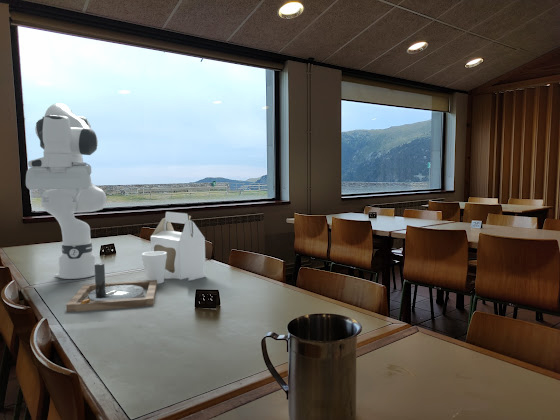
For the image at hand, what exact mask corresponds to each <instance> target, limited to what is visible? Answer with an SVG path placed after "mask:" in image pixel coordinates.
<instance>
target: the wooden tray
mask: <svg viewBox="0 0 560 420" xmlns="http://www.w3.org/2000/svg"><path fill="white" fill-rule="evenodd" d="M116 285H135V286H140V287H142V288H143V289H147V292H146V294H145V297H144V296H143V297H142V298H129V299H115V300H101V301H90V299H88V298H87V297H88V294H89V293H90V292H91V291H94V290H96V287H95V283H91V284H88V283H87V284H83V285H82V286H81V288H80V289H79V290H78V291H76V293H75V295H74V296H73V297H72V298H71V299H70V300H69V301H68V302H67V304H66V305H65V306H66V312H68V313H69V312H71V313H72V312H74V313H75V312H76V313H77V312H89V311H100V310H114V309H125V308H129V309H130V308H139V307H148V306H154V305H155V299H156V295H157V287H158V284H157V280H151V281H150V280H146V279H145V280H133V281H132V280H131V281H117V282H105V287H109V286H116Z"/></svg>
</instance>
